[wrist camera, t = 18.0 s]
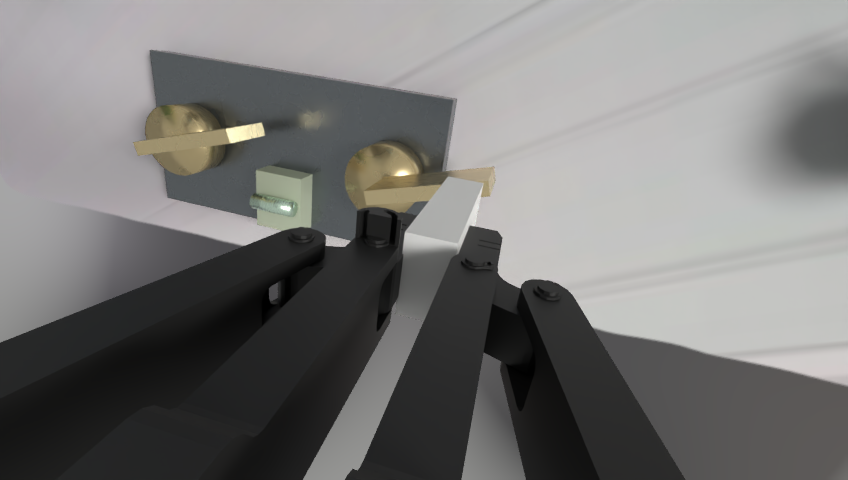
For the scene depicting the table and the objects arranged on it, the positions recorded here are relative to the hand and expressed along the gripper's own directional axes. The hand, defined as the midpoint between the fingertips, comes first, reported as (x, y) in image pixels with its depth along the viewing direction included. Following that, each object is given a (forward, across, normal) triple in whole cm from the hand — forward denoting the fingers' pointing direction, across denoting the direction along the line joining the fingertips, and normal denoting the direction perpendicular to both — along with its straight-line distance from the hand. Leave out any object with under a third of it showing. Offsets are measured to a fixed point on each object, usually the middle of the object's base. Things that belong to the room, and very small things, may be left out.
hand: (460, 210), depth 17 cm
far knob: (+21, -28, -5) cm, 36 cm away
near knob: (+21, -6, -5) cm, 23 cm away
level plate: (+24, -20, -6) cm, 32 cm away
